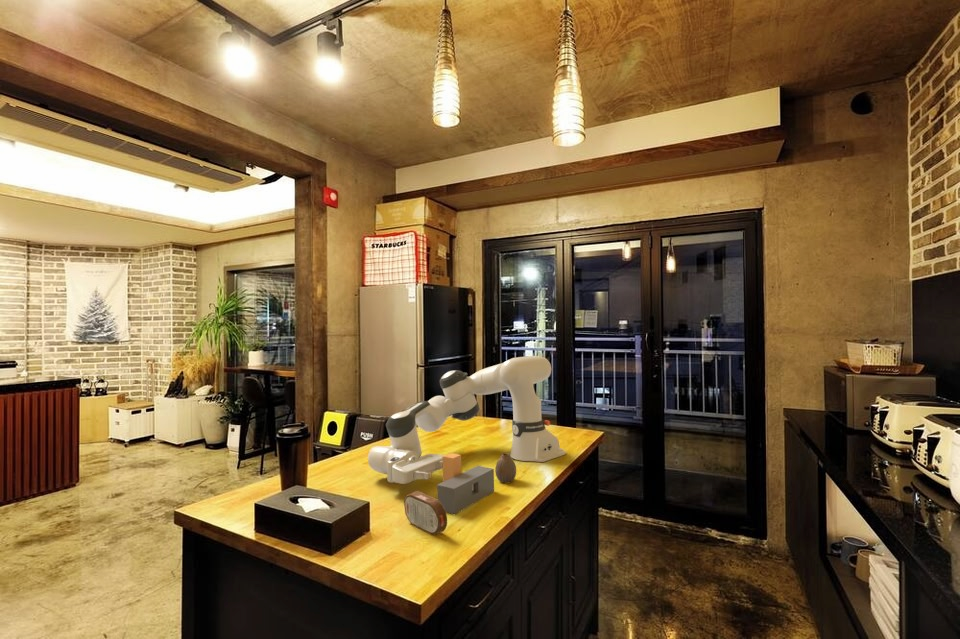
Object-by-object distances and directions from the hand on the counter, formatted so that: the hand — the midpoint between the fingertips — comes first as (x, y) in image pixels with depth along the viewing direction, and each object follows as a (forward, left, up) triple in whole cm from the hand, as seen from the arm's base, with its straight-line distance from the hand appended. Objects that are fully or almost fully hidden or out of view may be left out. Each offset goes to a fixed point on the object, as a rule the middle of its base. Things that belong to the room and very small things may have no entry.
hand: (439, 471), depth 138 cm
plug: (-3, +6, -6) cm, 10 cm away
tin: (+14, +19, -7) cm, 24 cm away
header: (-4, +9, -7) cm, 12 cm away
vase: (-23, +2, -7) cm, 24 cm away
